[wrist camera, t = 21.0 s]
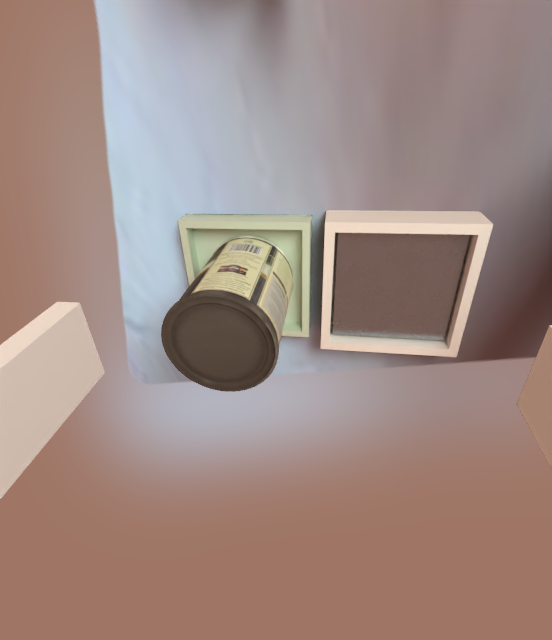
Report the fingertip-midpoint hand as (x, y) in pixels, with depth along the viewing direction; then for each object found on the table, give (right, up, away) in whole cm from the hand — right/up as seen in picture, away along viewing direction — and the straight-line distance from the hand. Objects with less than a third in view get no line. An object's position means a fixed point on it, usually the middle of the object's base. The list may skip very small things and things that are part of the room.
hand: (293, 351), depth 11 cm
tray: (-3, +6, +33) cm, 34 cm away
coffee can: (-3, +6, +33) cm, 34 cm away
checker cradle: (+12, +6, +31) cm, 34 cm away
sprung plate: (+12, +5, +29) cm, 32 cm away
